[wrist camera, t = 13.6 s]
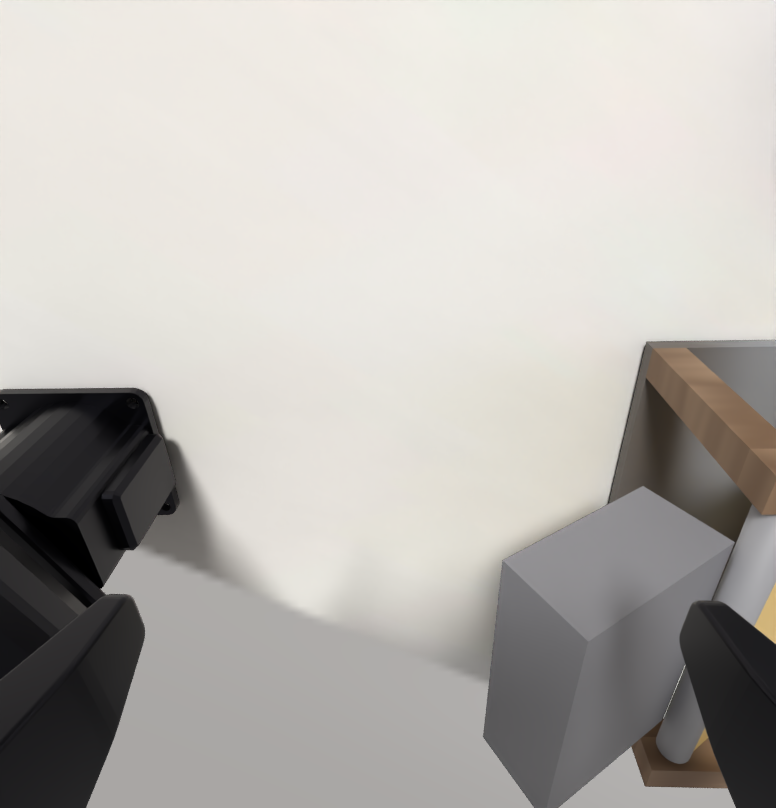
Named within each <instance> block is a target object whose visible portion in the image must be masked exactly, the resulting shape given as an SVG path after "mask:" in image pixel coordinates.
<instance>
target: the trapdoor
mask: <svg viewBox="0 0 776 808" xmlns="http://www.w3.org/2000/svg"><path fill="white" fill-rule="evenodd" d="M734 543H735V542H734V541H732V540H730V539H729V538H727V537H726V536H724V535H722V534H721V533H719V532H717V531H716V530H714V529H713V528H711V527H709V526H708V525H706V524H704V523H703V522H701V521H699V520H698V519H696V518H695V517H693V516H691V515H690V514H688V513H686V512H685V511H683V510H682V509H680V508H678V507H677V506H675V505H673V504H672V503H670V502H668V501H667V500H665V499H664V498H662V497H660V496H659V495H657V494H655V493H654V492H652V491H651V490H649V489H647V488H646V487H644V486H642V487H640V488H638V489H636V490H634V491H632V492H631V493H629V494H627V495H625V496H623V497H621V498H619V499H617V500H615V501H614V502H612V503H610V504H608V505H606V506H604V507H602V508H600V509H598V510H597V511H595V512H593V513H591V514H589V515H587V516H585V517H583V518H581V519H580V520H578V521H576V522H574V523H572V524H570V525H568V526H566V527H565V528H563V529H561V530H559V531H557V532H555V533H553V534H551V535H549V536H548V537H546V538H544V539H542V540H540V541H538V542H536V543H534V544H532V545H531V546H529V547H527V548H525V549H523V550H521V551H519V552H517V553H515V554H514V555H512V556H510V557H508V558H506V559H504V560H503V562H502V571H501V580H500V589H499V598H498V607H497V616H496V625H495V634H494V643H493V653H492V662H491V671H490V680H489V689H488V698H487V707H486V717H485V726H484V734H483V737H484V739H485V740H486V742H487V743H488V744H489V746H490V747H491V749H492V750H493V751H494V753H495V754H496V755H497V757H498V758H499V760H500V761H501V762H502V764H503V765H504V766H505V768H506V769H507V770H508V772H509V773H510V775H511V776H512V777H513V779H514V780H515V782H516V783H517V784H518V786H519V787H520V789H521V790H522V791H523V793H524V794H525V795H526V797H527V798H528V800H529V801H530V802H531V804H532V805H533V806H534V808H558V807H559V806H561V805H562V804H563V803H564V802H565V801H567V800H568V799H569V798H570V797H571V796H573V795H574V794H575V793H576V792H577V791H578V790H580V789H581V788H582V787H583V786H584V785H586V784H587V783H588V782H589V781H590V780H592V779H593V778H594V777H595V776H596V775H597V774H599V773H600V772H601V771H602V770H603V769H605V768H606V767H607V766H608V765H609V764H611V763H612V762H613V761H614V760H615V759H616V758H618V757H619V756H620V755H621V754H623V753H624V752H625V751H626V750H627V749H629V748H630V747H631V746H632V745H633V744H634V743H636V742H637V741H638V740H639V739H640V738H642V737H643V736H644V735H645V734H646V733H648V732H649V731H650V730H651V729H652V728H653V727H655V726H656V725H657V724H658V723H659V722H661V721H662V719H663V717H664V714H665V712H666V709H667V707H668V705H669V702H670V700H671V697H672V695H673V692H674V690H675V687H676V685H677V683H678V680H679V678H680V675H681V673H682V670H683V668H684V665H685V661H684V658H683V655H682V652H681V648H680V643H679V636H680V631H681V629H682V626H683V623H684V621H685V618H686V616H687V613H688V611H689V608H690V606H691V604H692V603H693V602H695V601H698V600H712V597H713V595H714V592H715V590H716V587H717V585H718V582H719V580H720V578H721V575H722V573H723V570H724V568H725V565H726V563H727V560H728V558H729V556H730V553H731V551H732V548H733V546H734ZM712 601H721V602H723V603H725V604H727V605H728V606H729V607H731V608H732V609H733V610H734V611H736V612H737V613H738V614H739V615H741V616H742V617H743V618H744V619H746V620H747V621H748V622H749V623H750V624H752V625H753V626H754V627H755V628H757V629H758V630H759V631H760V632H762V633H763V634H764V635H765V636H767V637H768V638H769V639H770V640H771V641H773V642H774V643H775V644H776V515H761V514H760V512H759V511H758V510H757V509H756V508H755V506H754V505H753V504H752V506H751V508H750V510H749V513H748V515H747V518H746V520H745V523H744V525H743V528H742V530H741V532H740V535H739V537H738V540H737V542H736V545H735V547H734V549H733V552H732V554H731V557H730V559H729V562H728V564H727V566H726V569H725V571H724V574H723V576H722V579H721V581H720V583H719V586H718V588H717V591H716V593H715V596H714V598H713V600H712ZM706 739H708V736H707V732H706V729H705V726H704V723H703V720H702V716H701V713H700V710H699V707H698V703H697V700H696V697H695V694H694V690H693V687H692V684H691V681H690V678H689V674H688V671H687V668H686V666H685V669H684V671H683V673H682V676H681V678H680V681H679V683H678V686H677V688H676V690H675V693H674V695H673V698H672V700H671V703H670V705H669V707H668V710H667V712H666V715H665V717H664V720H663V722H662V725H661V727H660V729H659V732H658V734H657V737H656V744H657V747H658V749H659V751H660V752H661V754H662V755H663V756H664V757H665V758H667V759H668V760H669V761H671V762H674V763H677V764H684V763H686V762H688V761H689V759H690V757H691V755H692V753H693V751H694V750H696V749H697V748H698V747H699V746H700V745H701V744H702V743H703V742H704V741H705V740H706Z"/></svg>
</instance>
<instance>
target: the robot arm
mask: <svg viewBox="0 0 776 808" xmlns="http://www.w3.org/2000/svg"><path fill="white" fill-rule="evenodd" d="M131 398H134V399H136V400H137V401H138V403H139V404H137V403H134V402H133V401H132V400H131ZM3 400H4V401H6V402H7V403H8V404H6V403H5V402H4V401H3ZM0 425H1V428H2V430H3V431H2V432H1V433H0V808H86V806H87V804H88V801H89V799H90V797H91V794H92V792H93V789H94V787H95V784H96V781H97V779H98V777H99V775H100V772H101V770H102V767H103V765H104V762H105V760H106V757H107V755H108V753H109V750H110V747H111V745H112V742H113V740H114V737H115V734H116V731H117V728H118V725H119V722H120V718H121V715H122V712H123V708H124V705H125V702H126V699H127V695H128V692H129V689H130V685H131V682H132V679H133V675H134V672H135V668H136V665H137V662H138V659H139V655H140V652H141V649H142V646H143V642H144V638H145V627H144V624H143V621H142V618H141V616H140V613H139V611H138V608H137V606H136V603H135V601H134V599H133V598H132V597H131V596H130V595H126V594H109V595H106V594H105V593H104V592H103V591H102V590H101V588H102V587H103V586H104V584H105V583H106V581H107V580H108V578H109V576H110V575H111V573H112V572H113V570H114V569H115V567H116V565H117V564H118V562H119V560H120V559H121V557H122V556H123V554H124V552H125V551H126V550H134V549H135V548H136V547H137V546H138V545H139V544H140V542H141V541H142V539H143V537H144V536H145V534H146V532H147V531H148V529H149V527H150V526H151V524H152V522H153V521H154V519H155V517H156V516H157V515H169V514H173V513H174V512H175V510H176V509H177V507H178V505H179V499H178V496H177V492H176V489H175V484H176V480H175V476H174V473H173V470H172V466H171V463H170V459H169V456H168V453H167V449H166V446H165V442H164V439H163V438H162V437H161V435H160V434H159V432H158V428H157V425H156V422H155V418H154V415H153V411H152V408H151V405H150V401H149V398H148V396H147V394H146V393H145V392H144V391H142V390H140V389H137V388H78V389H3V390H0ZM164 502H165V503H168V504H169V505H167V504H165V503H164ZM679 643H680V648H681V652H682V655H683V658H684V661H685V665H686V668H687V671H688V674H689V678H690V681H691V684H692V687H693V690H694V694H695V697H696V700H697V703H698V707H699V710H700V713H701V716H702V720H703V723H704V726H705V729H706V732H707V736H708V739H709V741H710V744H711V747H712V750H713V753H714V756H715V758H716V761H717V763H718V766H719V768H720V771H721V773H722V775H723V778H724V780H725V783H726V785H727V787H728V790H729V792H730V794H731V797H732V799H733V802H734V804H735V806H736V808H776V644H775V643H774V642H773V641H771V640H770V639H769V638H768V637H767V636H765V635H764V634H763V633H762V632H760V631H759V630H758V629H757V628H755V627H754V626H753V625H752V624H750V623H749V622H748V621H747V620H746V619H744V618H743V617H742V616H741V615H739V614H738V613H737V612H736V611H734V610H733V609H732V608H731V607H729V606H728V605H727V604H725V603H723V602H721V601H712V600H698V601H695V602H693V603H692V604H691V606H690V608H689V611H688V613H687V616H686V618H685V621H684V623H683V626H682V629H681V631H680V636H679Z"/></svg>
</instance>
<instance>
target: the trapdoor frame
mask: <svg viewBox="0 0 776 808" xmlns="http://www.w3.org/2000/svg"><path fill="white" fill-rule="evenodd" d="M642 486H644V487H646V488H647V489H649V490H651V491H652V492H654V493H655V494H657V495H659V496H660V497H662V498H664V499H665V500H667V501H668V502H670V503H672V504H673V505H675V506H677V507H678V508H680V509H682V510H683V511H685V512H686V513H688V514H690V515H691V516H693V517H695V518H696V519H698V520H699V521H701V522H703V523H704V524H706V525H708V526H709V527H711V528H713V529H714V530H716V531H717V532H719V533H721V534H722V535H724V536H726V537H727V538H729V539H730V540H732V541H734V542H735V543H734V546H733V548H732V551H731V553H730V556H729V558H728V560H727V563H726V565H725V568H724V570H723V573H722V575H721V578H720V580H719V582H718V585H717V587H716V590H715V592H714V595H713V597H712V600H713V598H714V596H715V593H716V591H717V588H718V586H719V583H720V581H721V579H722V576H723V574H724V571H725V569H726V566H727V564H728V562H729V559H730V557H731V554H732V552H733V549H734V547H735V545H736V542H737V540H738V537H739V535H740V532H741V530H742V528H743V525H744V523H745V520H746V518H747V515H748V513H749V510H750V508H751V506H752V504H753V505H754V506H755V508H756V509H757V510H758V511H759V512H760V514H761V515H776V340H729V341H657V342H646V346H645V350H644V354H643V359H642V363H641V367H640V371H639V376H638V380H637V384H636V389H635V393H634V397H633V401H632V406H631V410H630V414H629V418H628V423H627V427H626V431H625V436H624V440H623V444H622V448H621V453H620V457H619V461H618V466H617V470H616V474H615V478H614V483H613V487H612V491H611V496H610V500H609V504H610V503H612V502H614V501H615V500H617V499H619V498H621V497H623V496H625V495H627V494H629V493H631V492H632V491H634V490H636V489H638V488H640V487H642ZM663 720H664V719H662V721H661V722H659V723H658V724H657V725H656V726H655V727H653V728H652V729H651V730H650V731H649V732H648V733H646V734H645V735H644V736H643V737H642V738H640V739H639V740H638V741H637V742H636V743H634V744H633V745H632V746H631V747H632V749H633V753H634V755H635V758H636V761H637V764H638V767H639V770H640V773H641V776H642V779H643V782H644V785H645V786H648V787H690V788H692V787H693V788H694V787H695V788H728V787H727V785H726V783H725V780H724V778H723V775H722V773H721V771H720V768H719V766H718V763H717V761H716V758H715V756H714V753H713V750H712V747H711V744H710V741H709V739H706V740H705V741H704V742H703V743H702V744H701V745H700V746H699V747H698V748H697V749H696V750H694V751H693V753H692V755H691V757H690V759H689V761H688V762H686V763H684V764H677V763H674V762H671V761H669V760H668V759H667V758H665V757H664V756H663V755H662V754H661V752H660V751H659V749H658V747H657V744H656V737H657V734H658V732H659V729H660V727H661V725H662V722H663Z"/></svg>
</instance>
